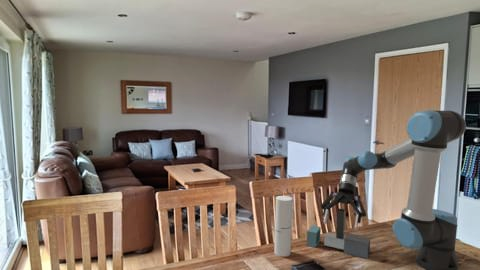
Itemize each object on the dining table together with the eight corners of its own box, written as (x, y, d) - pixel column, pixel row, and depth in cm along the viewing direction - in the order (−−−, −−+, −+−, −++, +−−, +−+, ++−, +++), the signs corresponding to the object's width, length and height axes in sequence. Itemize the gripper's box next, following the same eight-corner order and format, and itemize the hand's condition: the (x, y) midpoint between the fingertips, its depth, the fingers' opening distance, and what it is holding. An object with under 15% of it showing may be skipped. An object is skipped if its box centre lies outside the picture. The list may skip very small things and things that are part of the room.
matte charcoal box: (369, 252, 145) (370, 237, 144) (367, 258, 139) (368, 243, 138) (346, 247, 150) (347, 232, 149) (343, 253, 144) (344, 238, 143)
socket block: (320, 240, 156) (320, 227, 156) (315, 247, 149) (316, 232, 148) (311, 239, 158) (312, 225, 158) (306, 245, 151) (307, 231, 150)
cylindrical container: (290, 257, 139) (292, 201, 137) (273, 255, 141) (275, 199, 138) (290, 250, 146) (292, 196, 144) (275, 248, 148) (276, 195, 145)
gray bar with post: (366, 250, 144) (369, 213, 143) (365, 254, 140) (367, 216, 139) (326, 241, 153) (328, 206, 151) (324, 245, 149) (325, 208, 147)
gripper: (375, 193, 153) (369, 235, 142) (322, 186, 165) (313, 224, 153) (374, 185, 148) (368, 227, 136) (320, 178, 160) (311, 216, 148)
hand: (339, 226), depth 145 cm, fingers open, 13 cm apart
